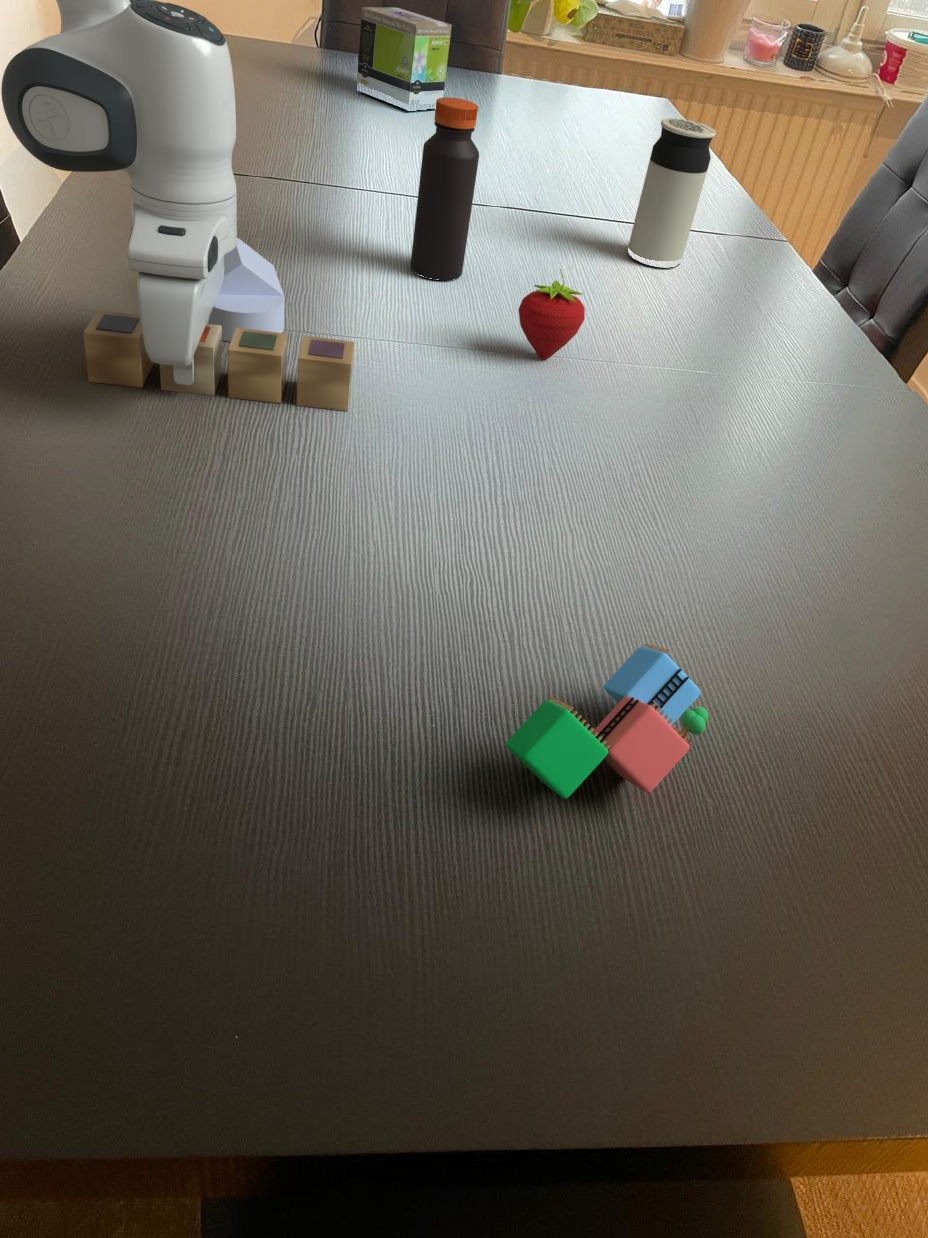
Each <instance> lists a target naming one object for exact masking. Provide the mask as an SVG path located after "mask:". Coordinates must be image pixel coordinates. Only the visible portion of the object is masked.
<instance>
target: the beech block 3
mask: <svg viewBox="0 0 928 1238" xmlns="http://www.w3.org/2000/svg"><path fill="white" fill-rule="evenodd" d="M354 351H355V341H351V340H342V339H333V338H325V337H318V336H308V335H303V336H302V340H301V344H300V348H299V352H298V357H297V375H296V376H297V377H296V380H297V381H296V400H295V401H296V402H295V404H296V406H299V407H307V408H316V409H324V410H325V409H326V410H334V411H341V412H342V411H343V412H348V411H349V407H350V405H349V404H350V396H351V390H352V389H351V388H352V379H353V377H352V376H353V365H354V364H353V363H354V354H355V353H354Z"/></svg>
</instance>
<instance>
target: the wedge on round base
mask: <svg viewBox="0 0 928 1238" xmlns="http://www.w3.org/2000/svg"><path fill="white" fill-rule="evenodd" d="M285 304H286V298H285V294H284V291H283V288H282V285H281V283H280V280H279V277H278V275H277V271H276V269H275V266H274V264H272V263H271V262H270V261H269V260H267V259H266V258H265V257H263V256H262V255H261V254H259V253H258V252H257V251H256V250H254V249H253V248H252V247H250V246H249V245H248V244H246V243H245V242H244V241H243V240H242V239H240V238H239V237H237V244H236V247H235V248H234V249H233V250H232V251H230V252H229V253H226V254H225V255H224V279H223V284H222V287H221V289H220V292H219V294H218V296H217V299H216V301H215V304H214V306H213V309H212V311H211V314H210V316H209V322H208V324H213V325H221V326H222V341H225V342H229V343H230V342H231V339H232V336H233V334H234V331H235V328H244V329H253V330H261V331H269V332H277V333H284V330H285Z"/></svg>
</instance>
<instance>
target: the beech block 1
mask: <svg viewBox="0 0 928 1238" xmlns="http://www.w3.org/2000/svg"><path fill="white" fill-rule="evenodd" d="M83 342H84V348H85V349H84V351H85V359H86V368H87V379H88V382H90V383H96V384H97V383H98V384H107V385H115V386H123V387H132V388H143V387H144V386H145V384H146V381H147V379H148V377H149V374H150V372H151V371H152V368H153V367H154V362H152V361H151V360H150V358H149V357H148V355H147V352H146V350H145V345H144V340H143V333H142V326H141V319H140V315H138V314H129V313H121V312H112V311H106V310H105V311H104V310H96V312H95V313H94V315H93V317H92V318H91V320H90V321H89V323H88V324H87V326H86V328H84V331H83Z"/></svg>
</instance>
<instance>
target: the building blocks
mask: <svg viewBox="0 0 928 1238" xmlns="http://www.w3.org/2000/svg"><path fill="white" fill-rule="evenodd" d="M670 652H671V650H670V649H667V648H664V647H663V648H662V647H659V646H656V645H653V644H649V643H648V644H647V643H644V644H643V645H642V646H639V647H637V649H636V650H634V651H633V653H632V654H631V655H630V656H629V657H628V658H627V659H626V661H624V663H623V664H622V665H621V666H620V667H619V668H618V669H617V670H616V671H615V673H614V674H613V675H612V676H611V677H610V678H609V679H608V680H607V681H606V682H605V683H604V685H603V689H604V691H605V692H606V693H607V694H608V695H609V696H610V697H611V698H612V699H613V700H614V701H615V702H616V703H617V704H616V705H615V706H614V708H613V709H612V710H611V711H610V712H609V713H608V714H607V715H606V716H605V717H604V719H602V721H601V722H599V724H598V725H597V726H596V727H595V728H594V727H590V726H591V724H590V723H588V722H587V720H586V719H585V718H583V719H582V717H583V716H582V715H581V714H578V711H577V710H574V707H573V706H572V705H570V704H567V703H565V702H563V701H562V700H560V699H557V698H555V697H554V696H551V697H549V699H545V700H544V701H543V702H542V703H541V704H540V705H539V706H538V707H537V708H536V710H534V711H533V713H531V715H530V716H529V717H528V718H527V719H526V720H525V721H524V722H523V723H522V724H521V725H520V727H518V729H517V730H516V731H515V732H514V733H513V734H512V735H511V736H510V737H509V738H508V740H507V741H506V742H505V746H506V748H507V749H508V750H509V752H511V753H512V754H513V755H514V756H515V757H516V758H517V759H518V760H519V761H520V762H521V763H522V764H523V765H524V766H525V767H526V768H528V770H529V771H530V772H531V773H532V774H533V775H534V776H535V777H537V778H538V779H539V780H540V781H541V783H543V784H544V785H545V786H546V787H547V788H549V789H550V790H552V791H553V792H554V793H555V794H557V795H558V796H559V797H561V799H564V800H566V799H569V797H571V795H572V794H573V793H574V792H575V791H576V790H577V789H578V788H579V786H581V784H582V783H583V782H585V780H586V779H587V778H588V777H589V776H590V775H591V774H592V772H593V771H594V770H595V769H596V768H597V767H598V766H599V765H600V764H601V762H602V761H603V760H604V761H605V762H606V763H607V764H608V765H610V767H612V769H613V770H614V771H615V772H616V773H617V774H619V776H620V777H621V778H623V780H625V781H627V782H628V783H630V784H631V785H633V786H635V787H636V788H638V789H639V790H641V791H642V792H644V793H646V794H650V793H651V792H652V791H654V789H655V788H656V787H657V786H658V785H659V784H660V783H661V782H662V780H663V779H664V778H665V777H666V776H667V775H668V774H669V773H670V771H672V770H673V768H674V767H675V766H676V765H677V764H678V763H679V762H680V761H681V759H682V758H683V757H684V756H685V755H686V754H687V753H688V751H689V750H690V749H691V746H690V744H691V743H692V742H693V740H692V739H689V736H688V733H690V734H692V735H696V736H697V735H700V734H702V733H703V732H704V731H706V723H707V722H708V720H709V713H708V710H707V709H706V708H705V707H702V706H695V707H693V708H692V709H689V707H691V706H692V704H693V703H694V702H695V701H696V700H697V698H699V696H700V695H701V693H702V691H701V690H702V688H704V686H703V685H702V684H699V683H696V682H693V680H692V679H690V677H689V676H688V675H687V674H686V673H685V672H684V671H683V670H682V668H680V667H679V666H678V664H677V663H676V662H675V661H674V660H673V659H672V658H671V657H670V656H669V655H668V654H669V653H670ZM573 710H574V711H573ZM572 711H573V712H572ZM571 712H572V713H571ZM576 715H577V717H576ZM679 718H680V722H681V725H682V727H683V728H682V729H681V727H679V726H677V724H676V722H677V721H678V720H679ZM580 719H582V720H581V721H580ZM586 722H587V723H586ZM585 723H586V724H585ZM584 724H585V725H584ZM676 726H677V727H676ZM675 727H676V729H674V728H675ZM588 728H590V729H588Z"/></svg>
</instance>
